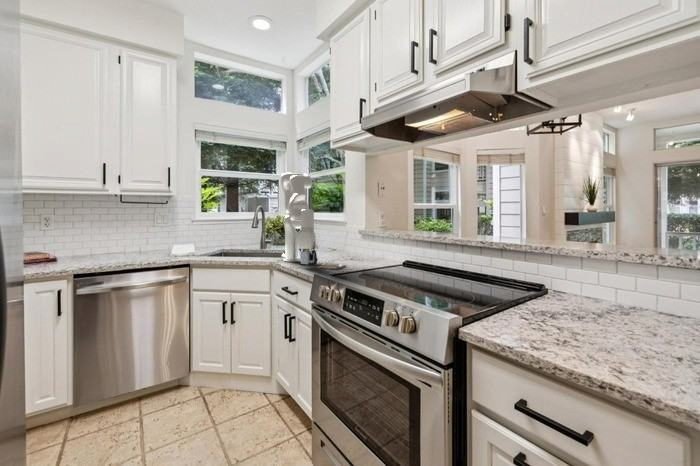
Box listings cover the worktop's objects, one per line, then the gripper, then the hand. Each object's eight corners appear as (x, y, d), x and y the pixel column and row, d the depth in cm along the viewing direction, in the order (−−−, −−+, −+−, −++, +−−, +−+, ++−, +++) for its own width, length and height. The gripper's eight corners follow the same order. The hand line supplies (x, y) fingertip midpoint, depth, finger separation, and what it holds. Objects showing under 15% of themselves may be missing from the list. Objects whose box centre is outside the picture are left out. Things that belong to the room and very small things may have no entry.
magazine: (316, 262, 207) (309, 240, 210) (304, 269, 215) (298, 248, 219) (320, 262, 209) (314, 240, 213) (309, 268, 218) (302, 247, 222)
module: (300, 263, 197) (300, 250, 196) (307, 261, 203) (307, 248, 202) (307, 264, 194) (307, 250, 194) (314, 262, 201) (314, 249, 200)
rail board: (317, 268, 196) (317, 264, 196) (329, 265, 209) (329, 261, 209) (334, 270, 191) (334, 265, 191) (346, 266, 203) (346, 262, 203)
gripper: (292, 229, 198) (292, 259, 199) (315, 231, 190) (315, 262, 191) (299, 228, 204) (299, 258, 206) (322, 230, 196) (322, 260, 198)
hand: (307, 259), depth 199 cm, fingers closed on module, 5 cm apart
